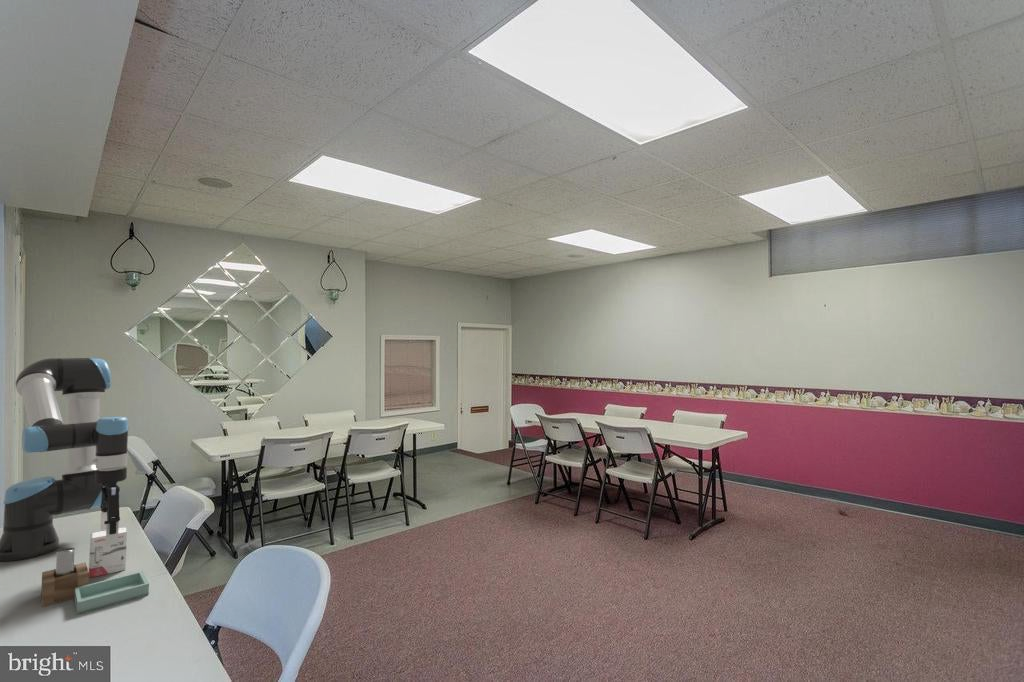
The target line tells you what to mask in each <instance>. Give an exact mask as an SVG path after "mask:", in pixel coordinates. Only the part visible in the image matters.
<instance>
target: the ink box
mask: <svg viewBox="0 0 1024 682" xmlns="http://www.w3.org/2000/svg"><path fill="white" fill-rule="evenodd" d="M89 541H90V542H89V555H88V556H89V558H88V572H89V578H91V579H92V578H95V577H99V576H103V575H107V574H108V575H109V574H113V573H117V572H122V571H125V570H126V569H127V568H126V567H127V566H126V563H127V549H128V548H127V546H128V545H127V542H128V529H127V527H118V544H114V545H109V546H106V531H101V530H100V531H96V532H93V533H91V534H90V540H89Z"/></svg>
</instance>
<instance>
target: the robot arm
mask: <svg viewBox="0 0 1024 682" xmlns="http://www.w3.org/2000/svg"><path fill="white" fill-rule="evenodd" d="M111 382H112V377H111V370H110V367H109V365H108V363H107V361H105V360H104V359H102V358H91V357H78V358H77V357H73V358H72V357H68V358H67V357H66V358H64V357H63V358H59V357H58V358H57V357H51V358H50V357H49V358H44V359H40V360H37V361H35V362H32V363H31V364H29V365H27V366H26V367H25V368H24V369H23V370H22V371H20V372H19V374H18V375H17V378H16V380H15V388H16V392H17V393H18V394H19V395H20V396H22V400H23V404H24V409H25V410H24V411H25V415H26V419H27V423H28V427H25V428H24V429H22V433H21V450H22V451H23V452H24V453H27V454H30V453H45V452H53V451H60V450H62V451H63V450H67V458H68V459H67V469H66V470H65V471H64V472H63V473H62V474H61V479H56V478H55V477H54V476H41V477H36V478H35V477H34V478H29V479H26V480H23V481H20V482H17V483H15V484H14V483H13V484H12V485H10V486H8V487H7V488H6V490H5V492H4V500H3V504H4V512H3V529H2V534H1V536H0V562H10V561H11V562H12V561H19V560H25V559H29V558H34V557H38V556H43V555H45V554H47V553H51V552H52V551H54V550H56V549H58V547H59V546H60V538H59V536H58V533H57V531H56V529H55V525H54V520H53V519H54V516H59V515H65V514H69V513H75V512H80V511H85V510H86V511H87V510H92V509H95V508H100V511H101V513H100V531H106V546H109V545H114V544H118V528H119V523H120V521H121V518H120V490H121V488H120V486H119V485H118V483H119V482H123V481H125V480H126V479H127V477H128V476H127V475H128V474H127V473H128V472H127V471H128V470H127V469H128V468H127V467H126V466H127V465H128V453H129V452H128V439H129V429H130V427H129V426H130V425H129V419H128V418H127V417H126V416H108V417H100V409H101V408H100V403H101V402H100V401H101V400H100V399H101V398H102V397H103V396H104V395H106V390H108V389H110V388H111ZM55 392H61V393H62V397H63V398H64V399H66V400H67V404H68V405H67V406H68V407H67V423H66V424H64V421H63V417H62V414H61V410H60V407H59V404H58V400H57V396H56V393H55Z"/></svg>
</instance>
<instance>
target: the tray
mask: <svg viewBox="0 0 1024 682" xmlns="http://www.w3.org/2000/svg"><path fill="white" fill-rule="evenodd" d="M149 588H150V582H149V581H148V579H147V577H146V576H145V574H144V572H143V571H142V570H141V571H137V572H133V573H130V574H125V575H122V576H118V577H114V578H110V579H106V580H101V581H97V582H94V583H93V582H92V583H88V585H85V586H81V587H77V588H75V594H74V598H73V599H74V600H73V601H74V605H75V609H76V614H77V615H80V614H83V613H84V614H85V613H88V612H91V611H95V610H98V609H102V608H105V607H110V606H113V605H117V604H120V603H124V602H127V601H130V600H131V601H132V600H135V599H137V598H141V597H145V595H146V596H148V594H149V592H150V591H149V590H150V589H149Z"/></svg>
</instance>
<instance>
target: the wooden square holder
mask: <svg viewBox="0 0 1024 682" xmlns="http://www.w3.org/2000/svg"><path fill="white" fill-rule="evenodd" d="M89 578H90V577H89V567H88V566H87V562H82V563H76V564H74V573H73V574H69V575H64V576H60V577H56V568H55V569H50V570H46V571H42V572H41V594H40V595H41V607H46V606H50V605H53V604H57V603H62V602H66V601H69V600H73V599H74V594H75V588H77V587H81V586H85V585H89Z"/></svg>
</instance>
